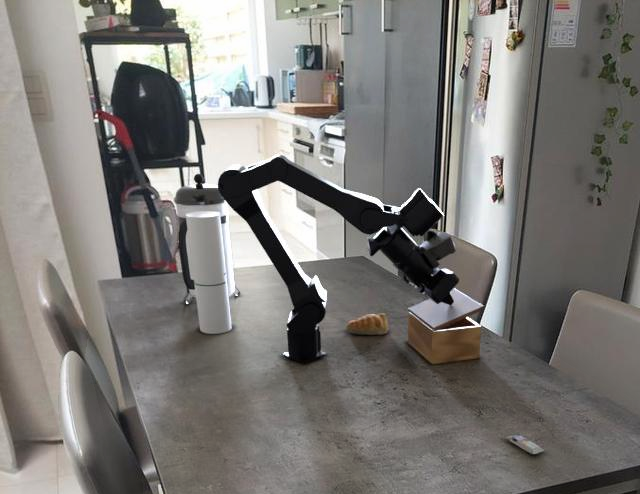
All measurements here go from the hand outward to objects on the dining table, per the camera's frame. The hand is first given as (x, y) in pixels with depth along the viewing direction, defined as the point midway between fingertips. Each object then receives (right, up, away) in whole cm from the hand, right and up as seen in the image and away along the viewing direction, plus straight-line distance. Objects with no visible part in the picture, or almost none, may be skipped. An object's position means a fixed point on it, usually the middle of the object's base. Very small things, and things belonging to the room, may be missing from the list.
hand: (451, 303), depth 143 cm
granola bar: (+7, -32, -32) cm, 46 cm away
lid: (-1, -1, 0) cm, 2 cm away
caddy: (-1, -9, +5) cm, 10 cm away
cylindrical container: (-52, -2, +17) cm, 55 cm away
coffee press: (-57, +10, +35) cm, 68 cm away
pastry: (-17, -3, +15) cm, 23 cm away
